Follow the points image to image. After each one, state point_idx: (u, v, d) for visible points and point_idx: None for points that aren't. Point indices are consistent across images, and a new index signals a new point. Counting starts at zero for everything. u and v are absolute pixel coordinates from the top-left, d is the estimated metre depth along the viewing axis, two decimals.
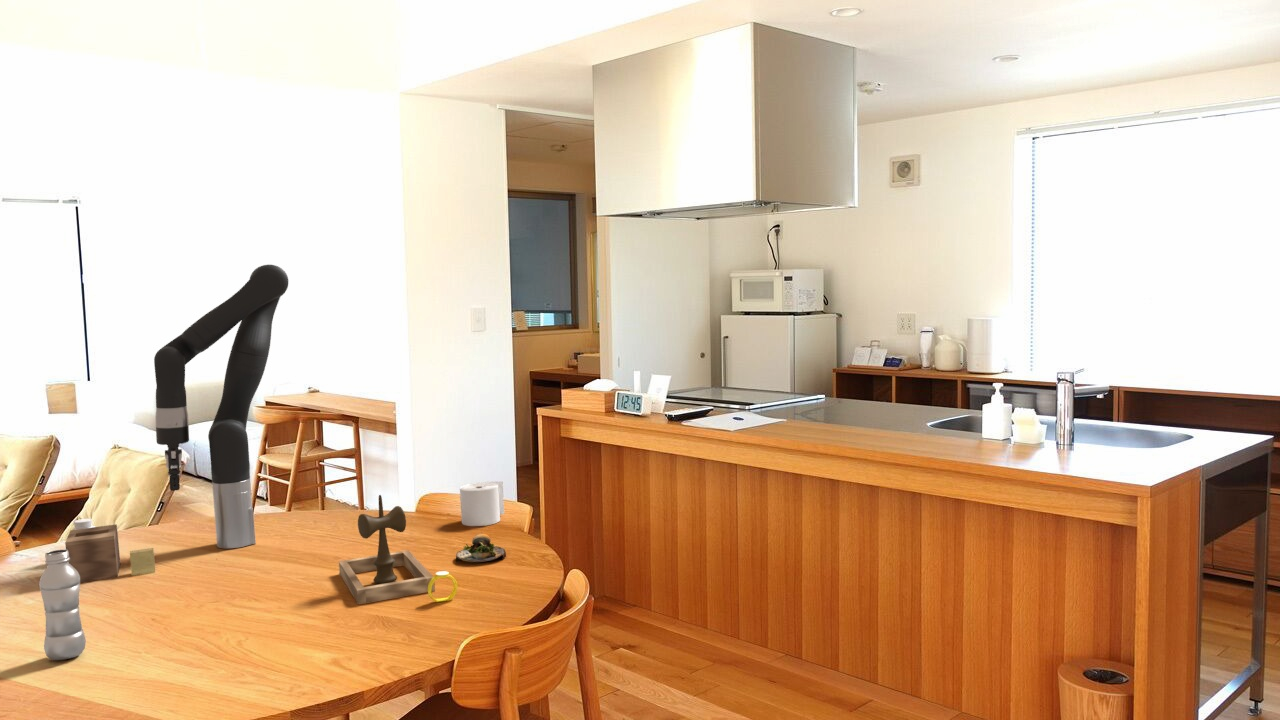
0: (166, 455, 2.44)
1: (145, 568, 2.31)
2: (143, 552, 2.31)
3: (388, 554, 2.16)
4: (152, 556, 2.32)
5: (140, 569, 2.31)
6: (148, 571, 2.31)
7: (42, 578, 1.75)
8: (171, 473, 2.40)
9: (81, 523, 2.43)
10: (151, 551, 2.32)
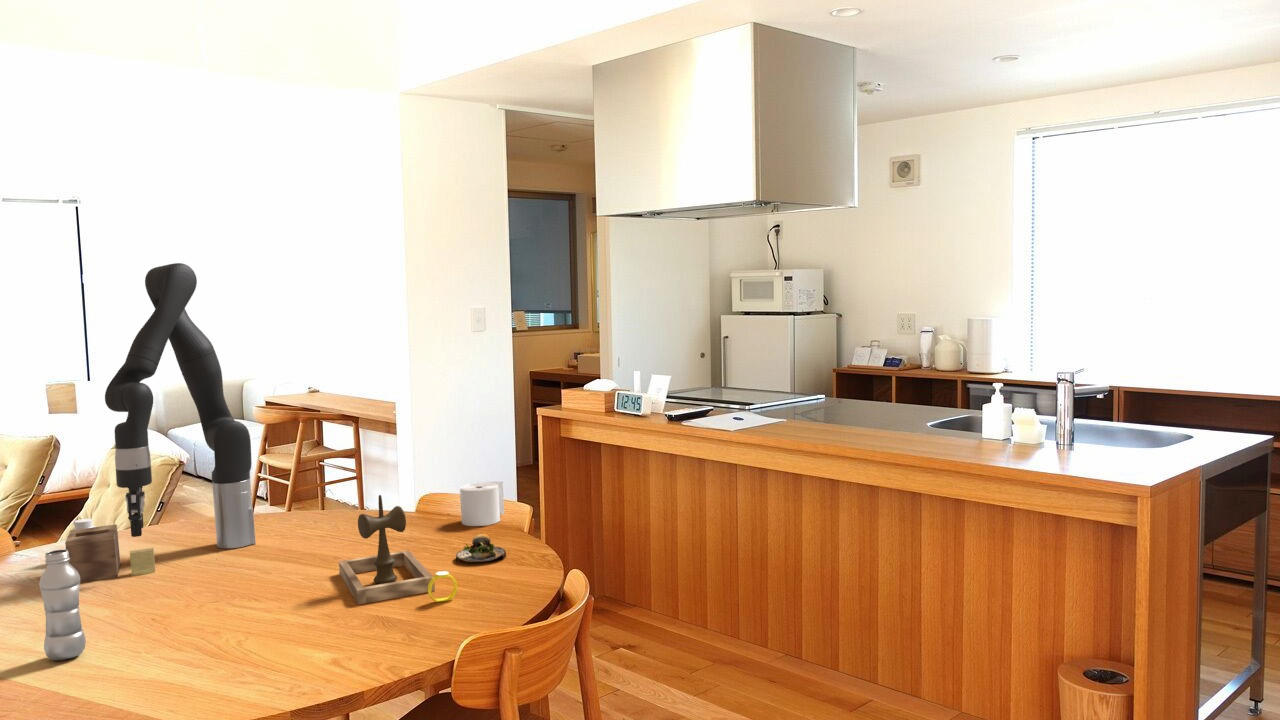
0: (127, 499, 2.28)
1: (145, 568, 2.31)
2: (143, 552, 2.31)
3: (388, 554, 2.16)
4: (152, 556, 2.32)
5: (140, 569, 2.31)
6: (148, 571, 2.31)
7: (42, 578, 1.75)
8: (131, 518, 2.24)
9: (81, 523, 2.43)
10: (151, 551, 2.31)
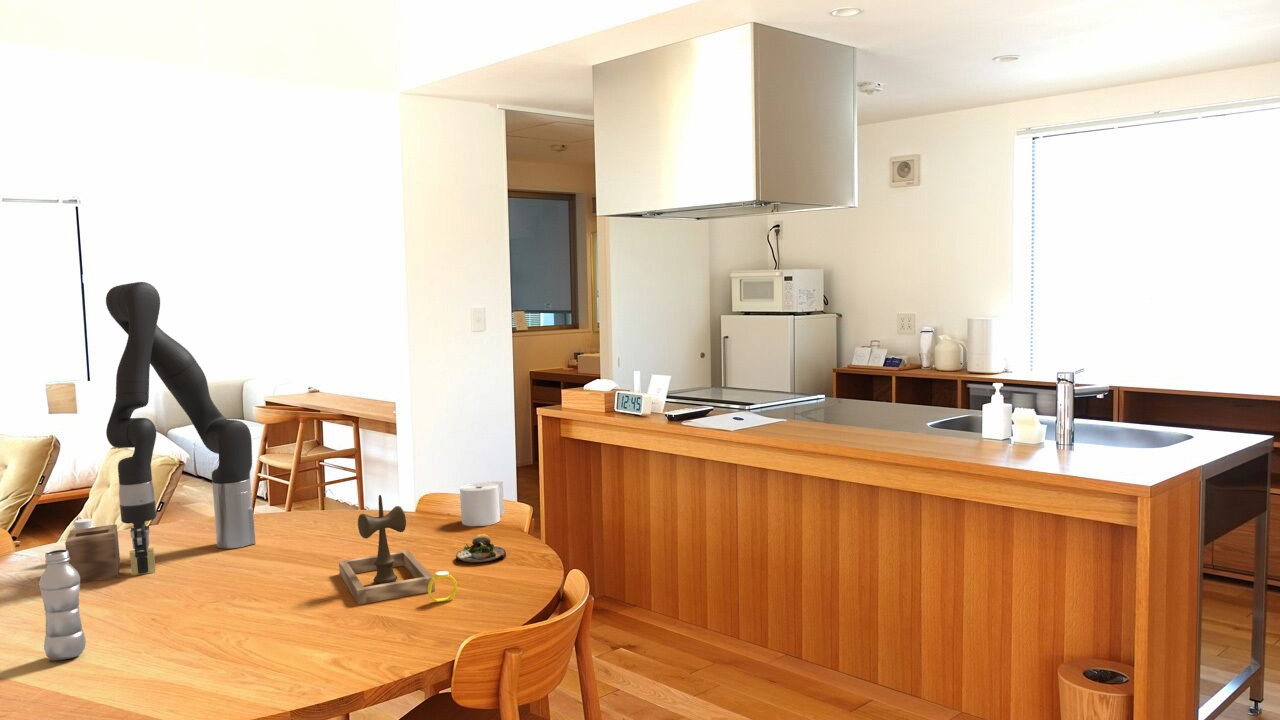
0: (132, 536, 2.29)
1: None
2: None
3: (388, 554, 2.16)
4: (152, 556, 2.32)
5: None
6: (148, 571, 2.31)
7: (42, 578, 1.75)
8: (138, 556, 2.28)
9: (81, 523, 2.43)
10: (151, 551, 2.31)
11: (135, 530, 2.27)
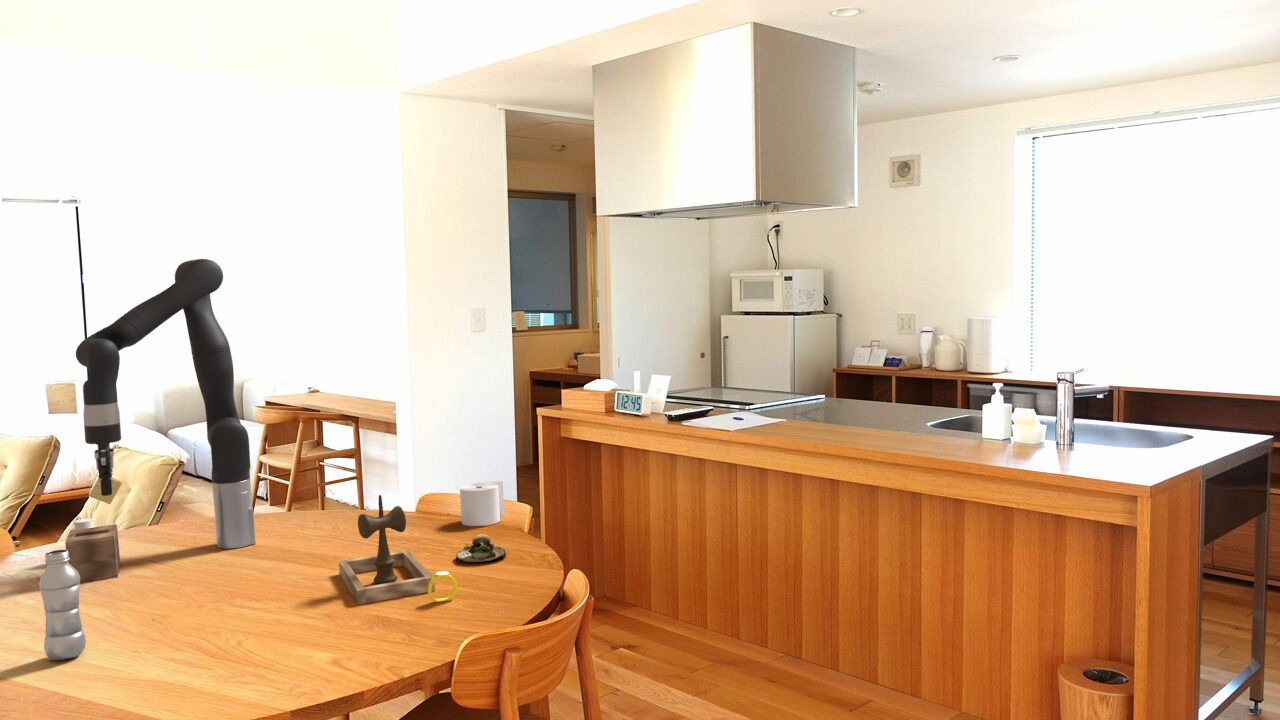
0: (96, 457, 2.27)
1: (104, 496, 2.29)
2: (112, 480, 2.30)
3: (388, 554, 2.16)
4: (117, 488, 2.30)
5: (99, 495, 2.29)
6: (105, 500, 2.29)
7: (42, 578, 1.75)
8: (102, 477, 2.26)
9: (81, 523, 2.43)
10: (119, 483, 2.30)
11: (99, 451, 2.26)
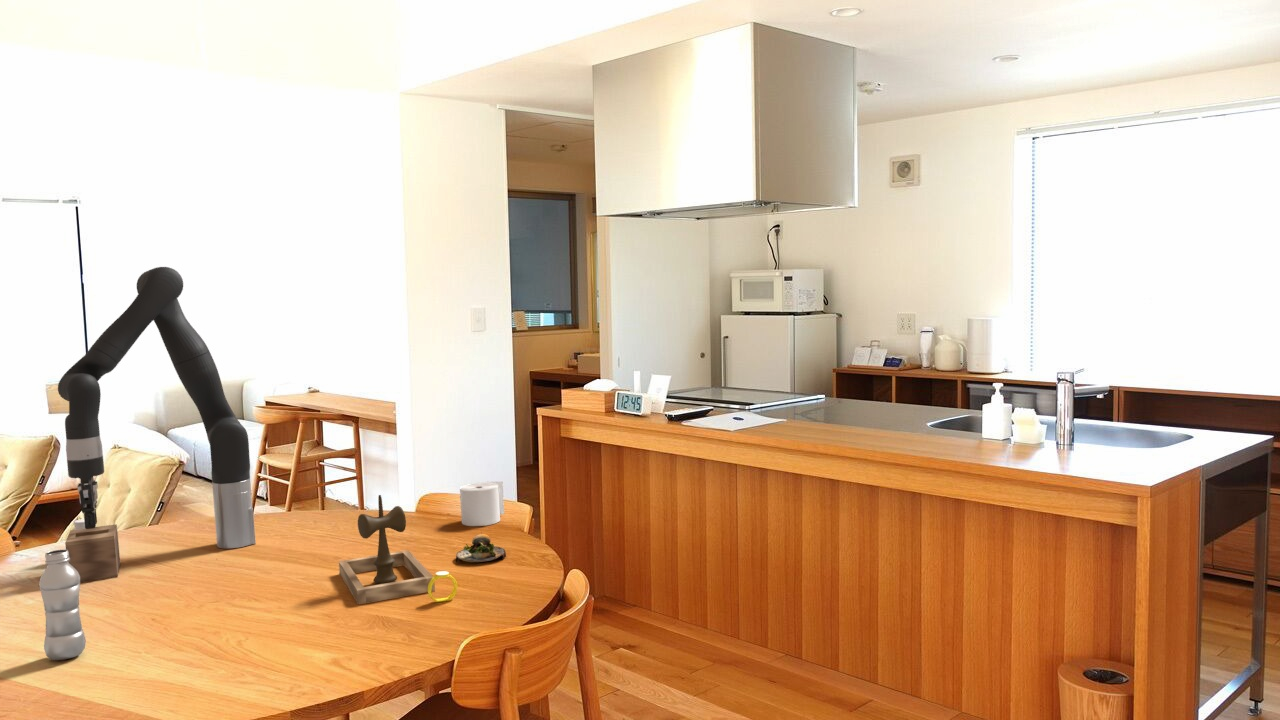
0: (79, 490, 2.29)
1: None
2: None
3: (388, 554, 2.16)
4: None
5: None
6: None
7: (42, 578, 1.75)
8: (84, 511, 2.27)
9: (81, 523, 2.43)
10: None
11: (82, 484, 2.27)
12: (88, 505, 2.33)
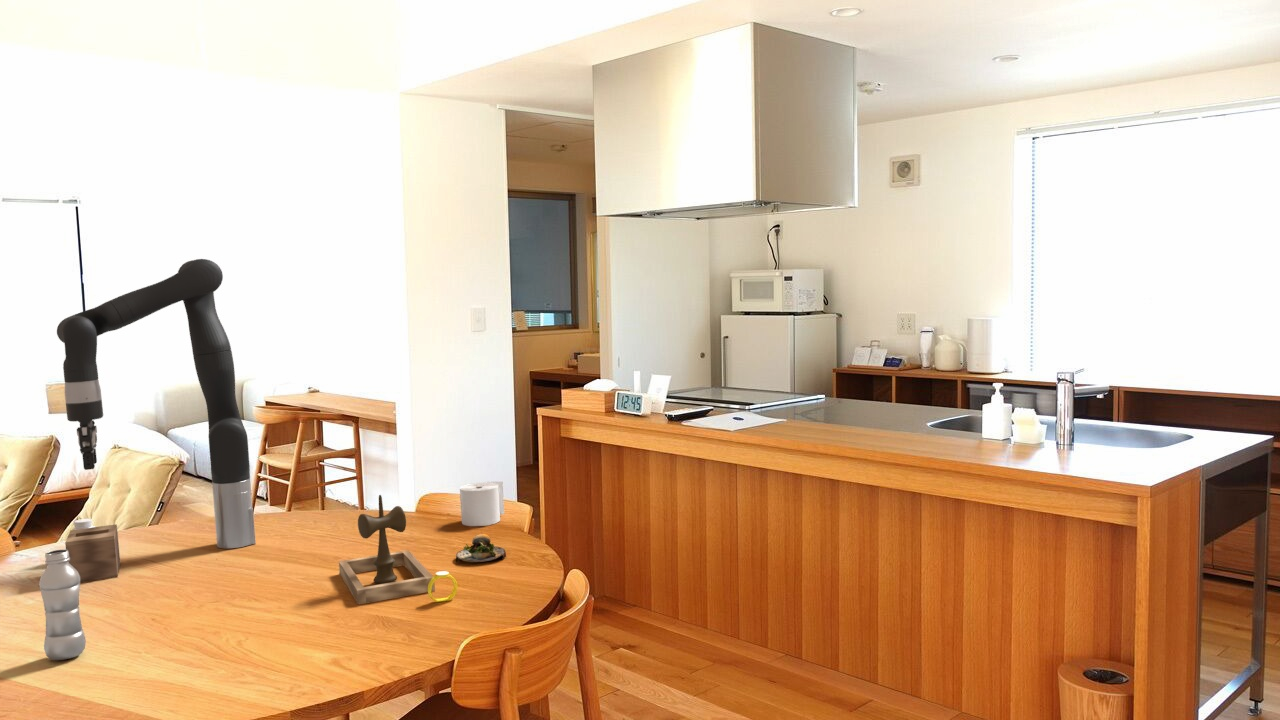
0: (78, 432, 2.28)
1: None
2: None
3: (388, 554, 2.16)
4: None
5: None
6: None
7: (42, 578, 1.75)
8: (83, 451, 2.25)
9: (81, 523, 2.43)
10: None
11: (81, 425, 2.27)
12: (88, 445, 2.35)
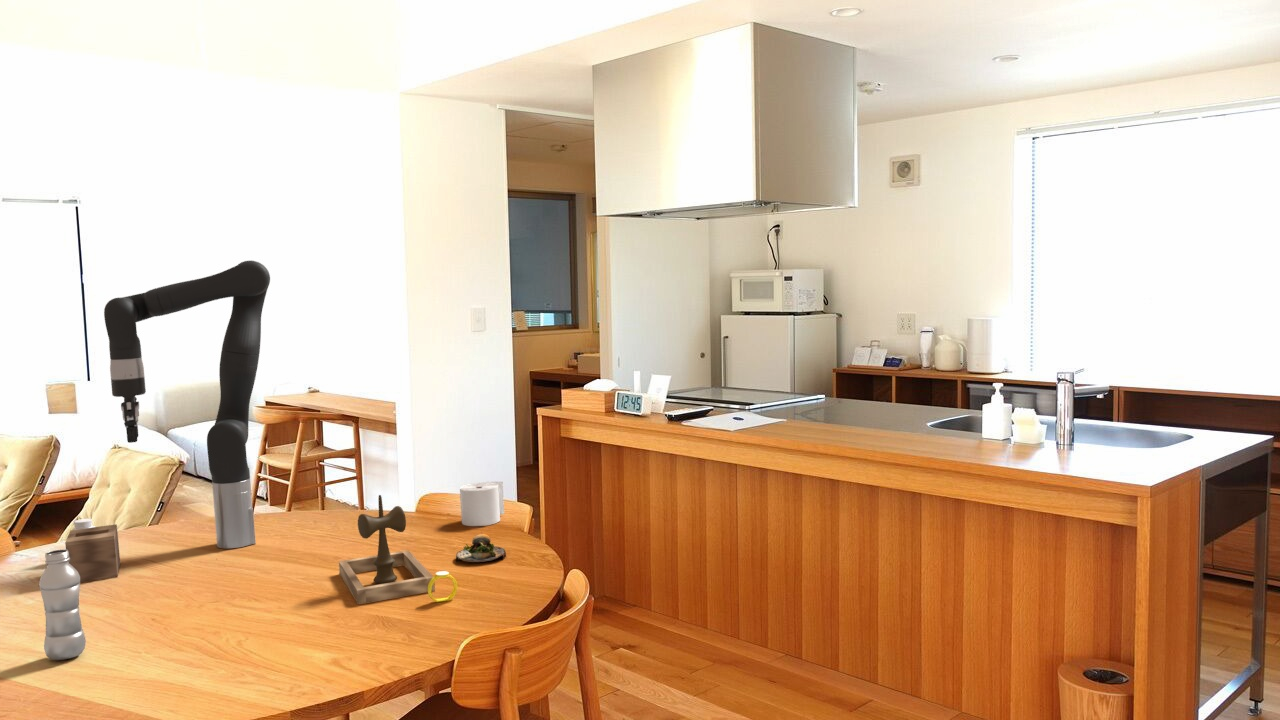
0: (122, 407, 2.41)
1: None
2: None
3: (388, 554, 2.16)
4: None
5: None
6: None
7: (42, 578, 1.75)
8: (127, 424, 2.38)
9: (81, 523, 2.43)
10: None
11: (125, 400, 2.40)
12: (130, 420, 2.48)
